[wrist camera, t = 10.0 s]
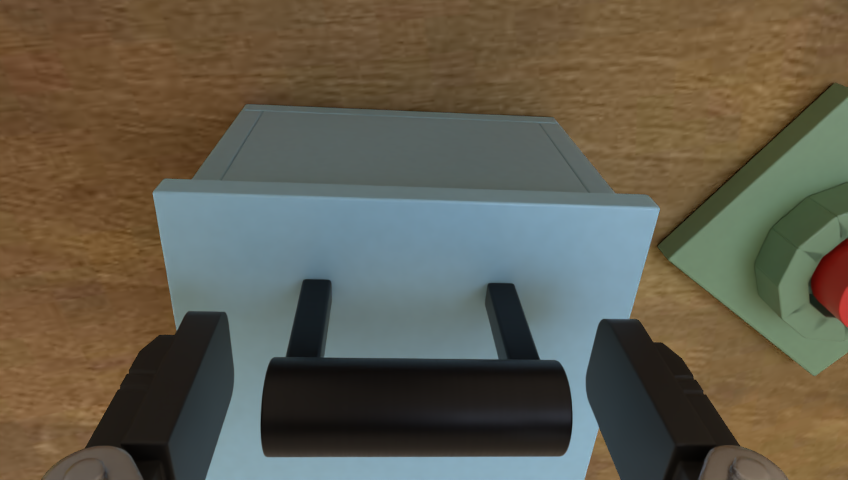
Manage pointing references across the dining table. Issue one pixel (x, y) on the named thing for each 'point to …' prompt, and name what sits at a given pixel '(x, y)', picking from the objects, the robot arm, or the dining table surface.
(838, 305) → the button
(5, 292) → the dining table surface
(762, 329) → the green button base
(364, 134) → the box
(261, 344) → the lid
